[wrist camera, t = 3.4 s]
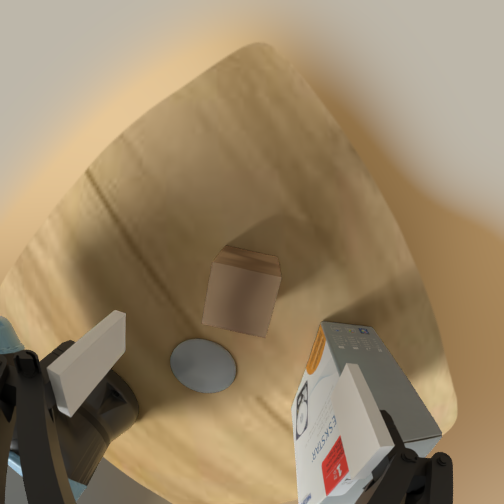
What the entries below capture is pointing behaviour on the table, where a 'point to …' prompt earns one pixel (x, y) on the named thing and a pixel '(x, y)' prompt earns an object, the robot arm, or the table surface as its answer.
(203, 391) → the slate coaster
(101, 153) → the table surface
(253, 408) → the table surface
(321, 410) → the hard drive box
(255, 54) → the table surface
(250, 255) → the walnut block
